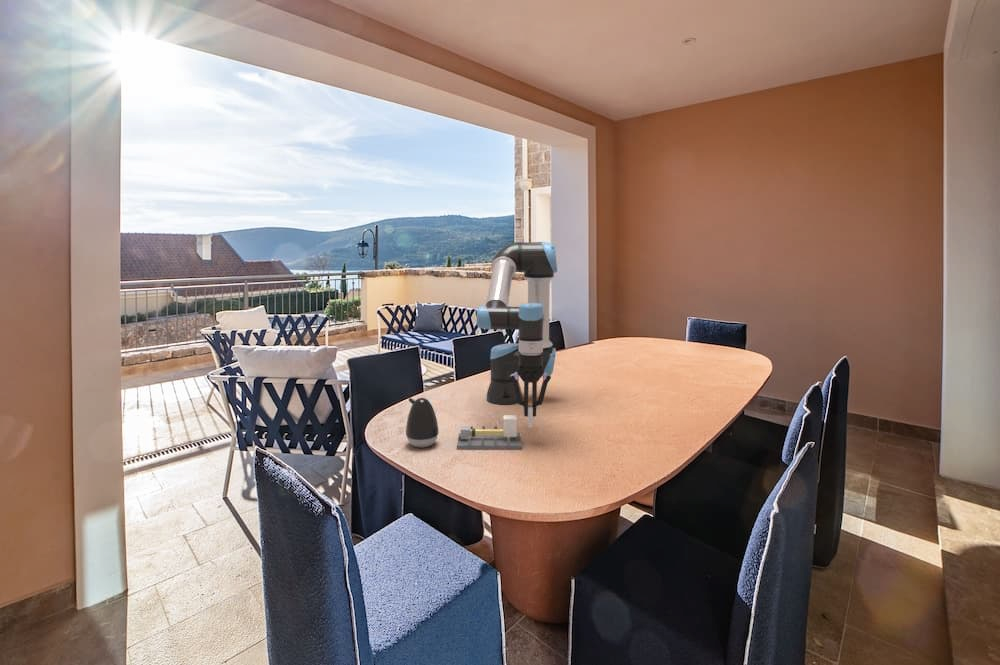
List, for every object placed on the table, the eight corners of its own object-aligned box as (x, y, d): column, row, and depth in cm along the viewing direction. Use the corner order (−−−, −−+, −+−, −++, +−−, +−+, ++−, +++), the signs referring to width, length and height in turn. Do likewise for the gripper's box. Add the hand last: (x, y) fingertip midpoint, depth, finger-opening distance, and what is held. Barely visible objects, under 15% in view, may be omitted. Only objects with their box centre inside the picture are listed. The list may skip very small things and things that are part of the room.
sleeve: (503, 436, 153) (503, 419, 152) (503, 432, 157) (503, 415, 156) (516, 436, 153) (516, 419, 152) (515, 432, 157) (515, 415, 156)
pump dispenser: (421, 436, 161) (420, 391, 159) (445, 443, 155) (444, 396, 153) (398, 446, 153) (397, 399, 150) (423, 453, 147) (422, 404, 145)
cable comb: (456, 449, 150) (456, 434, 149) (459, 436, 161) (459, 422, 160) (521, 449, 150) (521, 434, 149) (520, 436, 161) (520, 422, 160)
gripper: (510, 355, 147) (509, 430, 151) (553, 355, 148) (551, 430, 151) (509, 350, 155) (509, 422, 158) (550, 350, 155) (549, 422, 158)
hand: (529, 426), depth 155 cm, fingers closed
